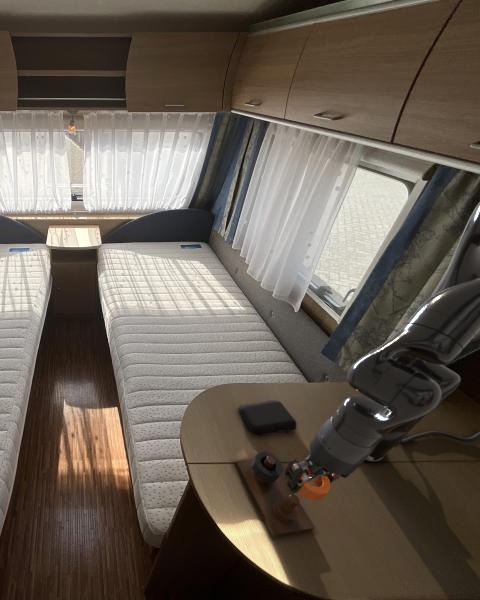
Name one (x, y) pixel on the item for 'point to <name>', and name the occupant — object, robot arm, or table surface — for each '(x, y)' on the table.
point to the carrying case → (267, 417)
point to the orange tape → (315, 488)
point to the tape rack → (274, 500)
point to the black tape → (264, 473)
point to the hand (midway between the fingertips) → (306, 485)
